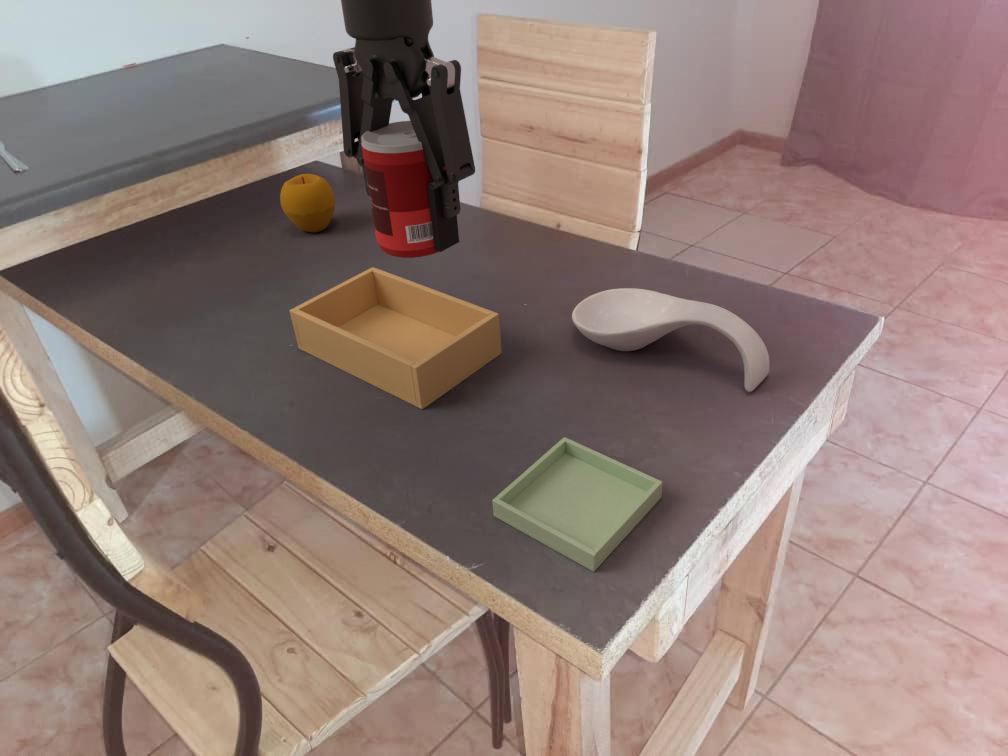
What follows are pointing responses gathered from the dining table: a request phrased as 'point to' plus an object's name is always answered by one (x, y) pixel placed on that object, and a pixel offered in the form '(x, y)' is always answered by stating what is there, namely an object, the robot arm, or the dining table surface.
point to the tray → (578, 502)
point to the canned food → (399, 190)
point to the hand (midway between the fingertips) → (416, 236)
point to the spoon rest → (665, 324)
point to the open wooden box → (398, 335)
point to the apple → (308, 202)
